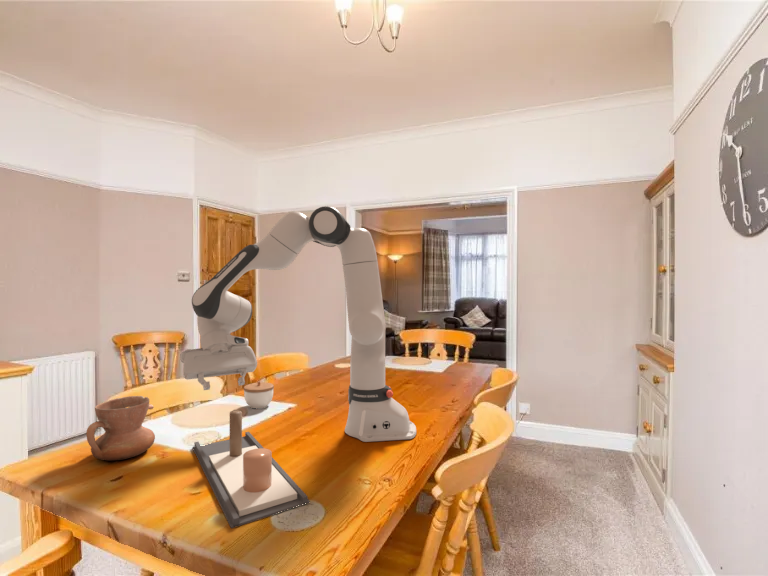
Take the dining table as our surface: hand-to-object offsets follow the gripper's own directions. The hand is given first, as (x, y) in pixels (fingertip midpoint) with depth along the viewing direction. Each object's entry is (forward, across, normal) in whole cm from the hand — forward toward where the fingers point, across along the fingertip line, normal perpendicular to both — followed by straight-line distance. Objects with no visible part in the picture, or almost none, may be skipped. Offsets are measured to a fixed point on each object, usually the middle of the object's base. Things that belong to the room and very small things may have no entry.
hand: (224, 386), depth 115 cm
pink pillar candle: (+32, 0, -11) cm, 34 cm away
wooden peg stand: (+29, 0, -5) cm, 29 cm away
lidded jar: (-10, +19, +34) cm, 40 cm away
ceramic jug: (+6, -24, +18) cm, 31 cm away
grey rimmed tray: (+25, 0, -1) cm, 25 cm away
